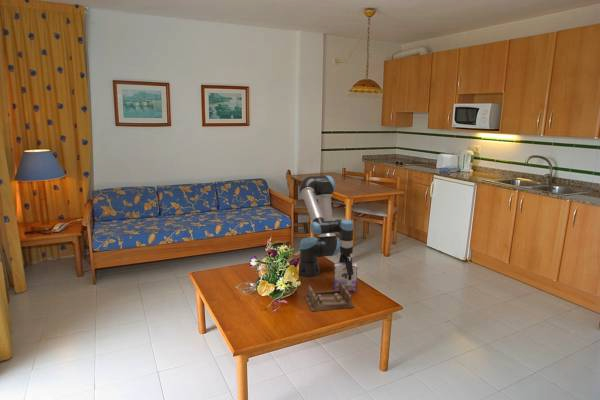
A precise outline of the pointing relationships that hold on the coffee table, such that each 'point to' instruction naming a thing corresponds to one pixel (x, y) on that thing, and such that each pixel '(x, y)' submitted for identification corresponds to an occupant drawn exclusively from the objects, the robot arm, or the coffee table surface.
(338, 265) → the candy box
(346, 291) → the peg frame
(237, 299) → the coffee table surface
